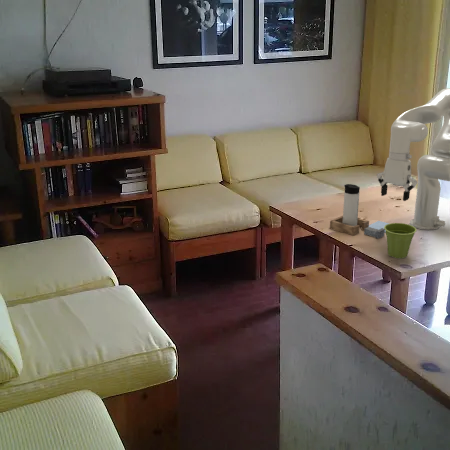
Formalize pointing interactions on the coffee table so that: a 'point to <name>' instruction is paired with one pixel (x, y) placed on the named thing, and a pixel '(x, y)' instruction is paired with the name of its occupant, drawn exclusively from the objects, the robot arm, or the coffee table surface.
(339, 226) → the wooden tray
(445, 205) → the coffee table surface
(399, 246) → the plant pot
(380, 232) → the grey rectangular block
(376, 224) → the pad
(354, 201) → the travel mug
